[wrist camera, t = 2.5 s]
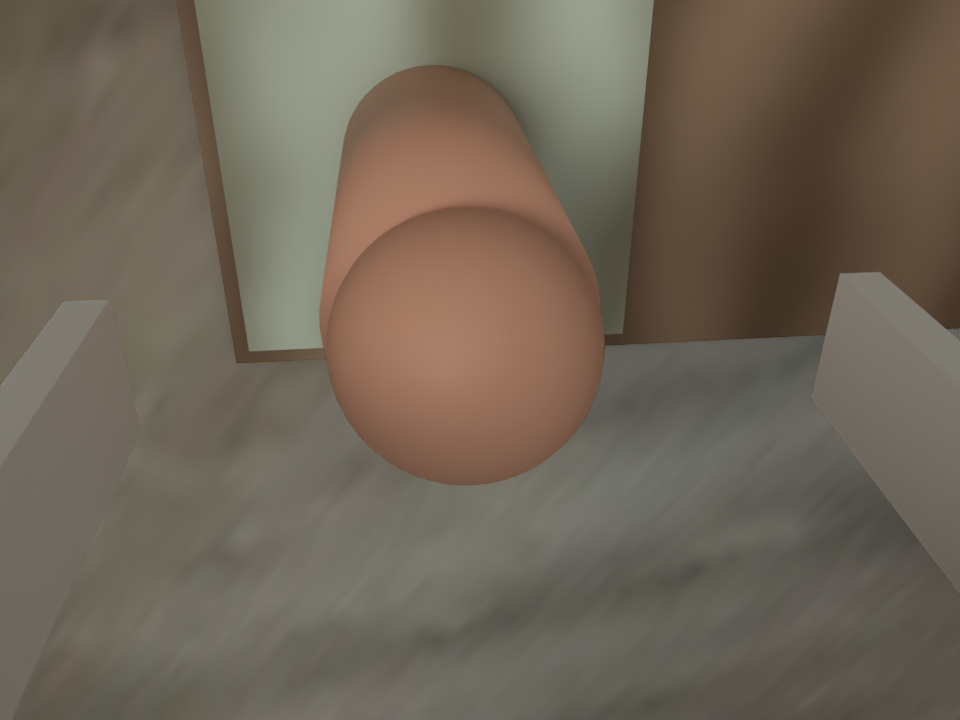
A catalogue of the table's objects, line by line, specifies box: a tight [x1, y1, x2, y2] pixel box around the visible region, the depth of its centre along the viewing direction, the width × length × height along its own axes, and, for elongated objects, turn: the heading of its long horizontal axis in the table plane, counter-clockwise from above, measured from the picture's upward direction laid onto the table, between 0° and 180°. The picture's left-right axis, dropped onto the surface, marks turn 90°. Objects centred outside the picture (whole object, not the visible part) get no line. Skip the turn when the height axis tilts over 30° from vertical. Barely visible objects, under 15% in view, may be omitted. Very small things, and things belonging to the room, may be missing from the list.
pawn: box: [319, 65, 604, 485], centre depth 20 cm, size 6×6×15 cm
